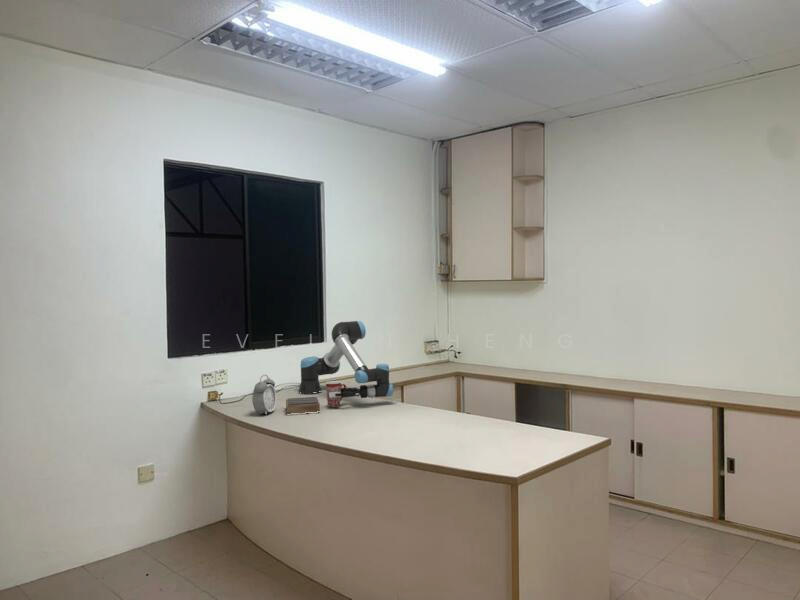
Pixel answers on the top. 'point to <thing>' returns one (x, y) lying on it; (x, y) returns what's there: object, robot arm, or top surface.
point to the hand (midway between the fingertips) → (328, 393)
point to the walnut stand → (302, 405)
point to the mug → (334, 387)
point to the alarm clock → (264, 396)
